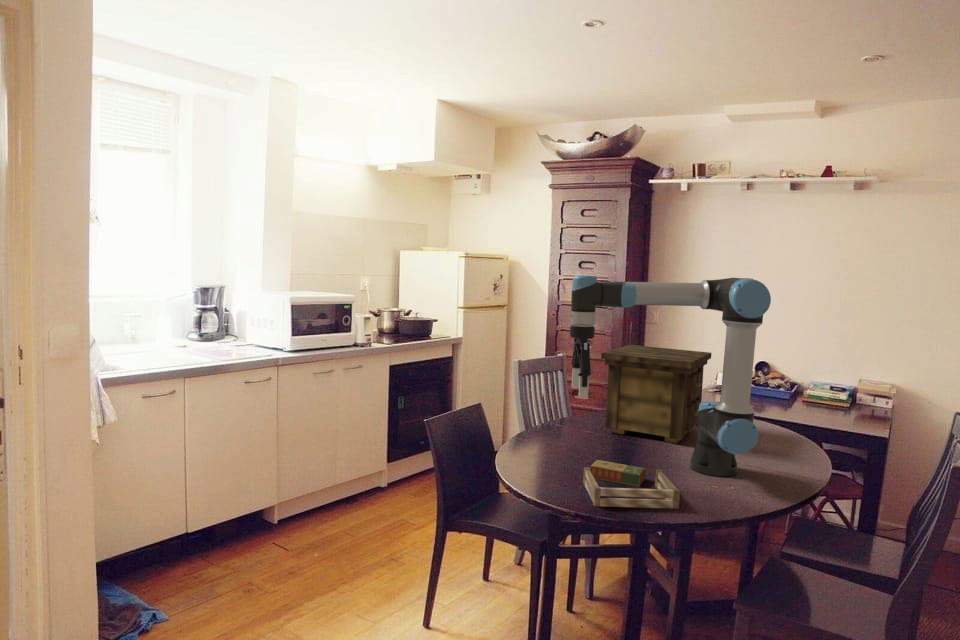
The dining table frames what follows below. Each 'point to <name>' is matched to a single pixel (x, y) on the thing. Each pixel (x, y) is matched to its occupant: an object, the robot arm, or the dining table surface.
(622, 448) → the dining table surface
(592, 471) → the carton
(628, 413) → the crate
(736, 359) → the robot arm
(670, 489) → the slatted wooden tray
